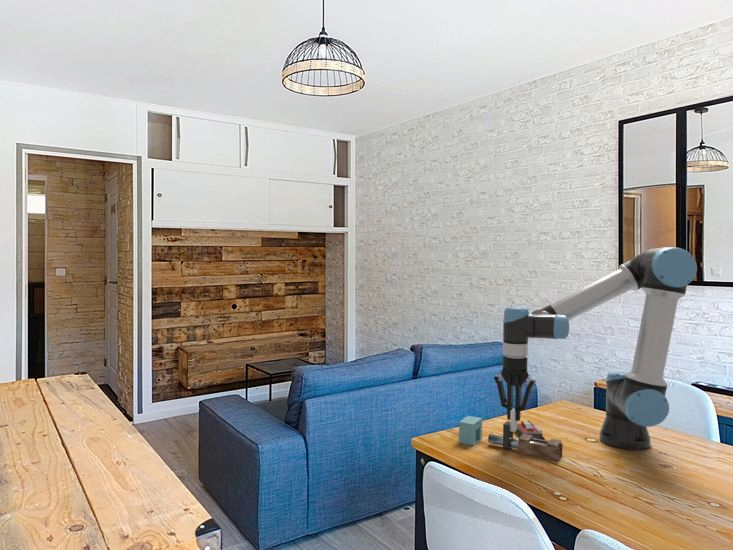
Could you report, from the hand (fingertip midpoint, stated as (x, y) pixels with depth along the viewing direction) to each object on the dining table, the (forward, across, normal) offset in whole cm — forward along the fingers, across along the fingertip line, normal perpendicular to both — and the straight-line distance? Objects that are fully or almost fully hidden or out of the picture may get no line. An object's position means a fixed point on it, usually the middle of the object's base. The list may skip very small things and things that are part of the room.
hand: (513, 430), depth 168 cm
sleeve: (+6, -8, 0) cm, 10 cm away
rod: (+6, -2, 0) cm, 6 cm away
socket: (+6, +14, 0) cm, 15 cm away
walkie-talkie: (+7, 0, -19) cm, 20 cm away
